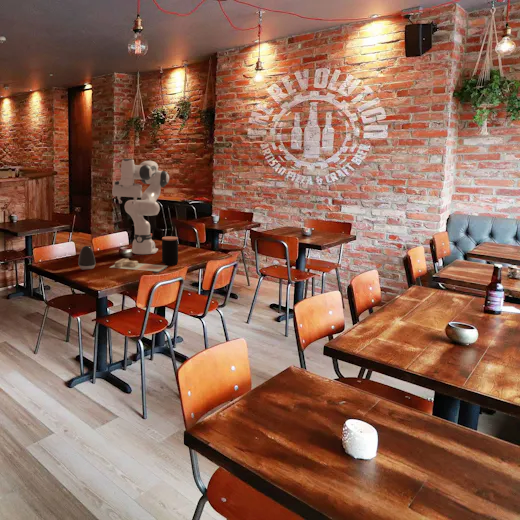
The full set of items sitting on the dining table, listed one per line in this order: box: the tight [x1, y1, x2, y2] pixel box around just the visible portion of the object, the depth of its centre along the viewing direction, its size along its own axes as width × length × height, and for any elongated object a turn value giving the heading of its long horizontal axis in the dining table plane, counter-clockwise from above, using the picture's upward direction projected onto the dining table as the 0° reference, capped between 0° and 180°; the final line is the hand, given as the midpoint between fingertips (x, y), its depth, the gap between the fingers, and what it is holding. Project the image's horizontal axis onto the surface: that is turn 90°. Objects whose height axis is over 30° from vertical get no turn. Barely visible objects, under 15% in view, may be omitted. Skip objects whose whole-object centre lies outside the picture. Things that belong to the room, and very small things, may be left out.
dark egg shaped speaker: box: [77, 245, 97, 271], centre depth 289 cm, size 10×10×15 cm
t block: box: [114, 258, 139, 267], centre depth 300 cm, size 12×12×3 cm
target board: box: [109, 262, 169, 274], centre depth 299 cm, size 16×33×1 cm, turn 81°
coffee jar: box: [161, 235, 179, 266], centre depth 312 cm, size 11×11×18 cm
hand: (127, 203), depth 312 cm, fingers open, 8 cm apart
